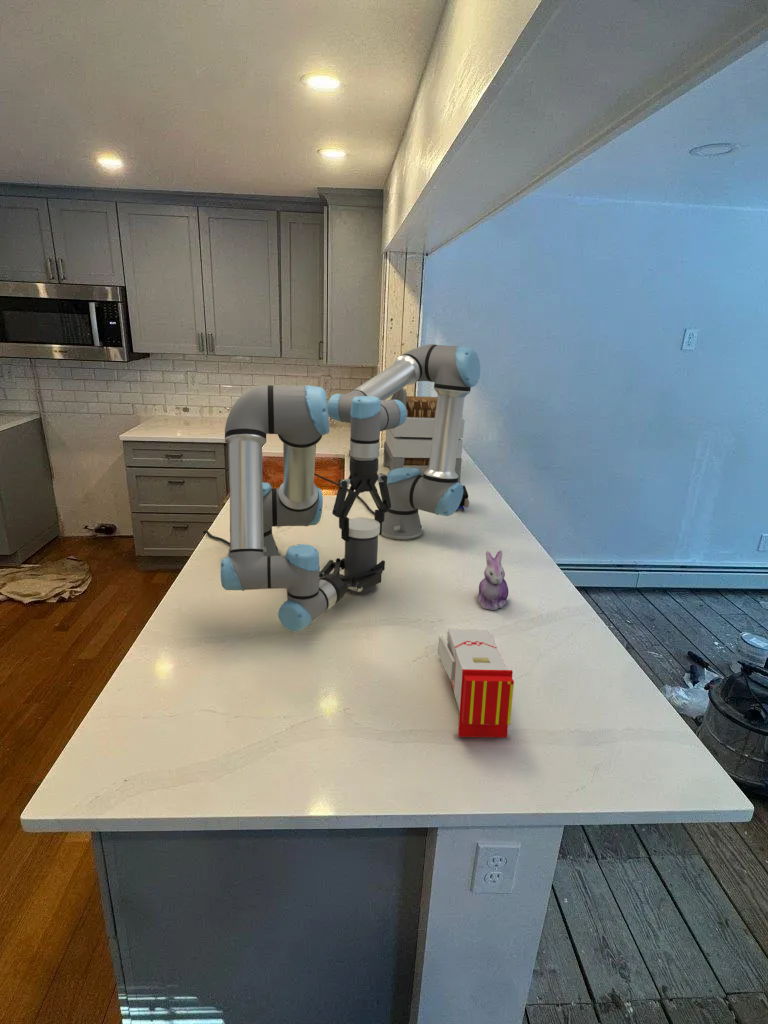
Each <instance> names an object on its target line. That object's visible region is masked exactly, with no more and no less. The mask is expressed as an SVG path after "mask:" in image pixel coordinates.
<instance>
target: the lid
mask: <svg viewBox="0 0 768 1024" xmlns="http://www.w3.org/2000/svg"><path fill="white" fill-rule="evenodd" d="M379 533H380V523H379V522H378V521H376V520H375V518H370V517H359V516H358V517H351V518H349V536H350V537H354V538H372V537H375V536H377V535H378V536H380V535H379Z"/></svg>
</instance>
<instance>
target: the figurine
mask: <svg viewBox="0 0 768 1024" xmlns="http://www.w3.org/2000/svg"><path fill="white" fill-rule="evenodd" d="M485 556H486V567H485V569H484V572H483V575H484V578H483V579H481V580H480V581H479V583H478V584H479V585H478V594H477V602H478V603H479V604H480V607H481V608H483V609H486V610H490V611H491V610H492V611H495V610H498V609H501V608H503V607H505V605H506V604H507V600H508V597H509V586H508V583H507V581H506V580H505V577H506V572H505V570H504V567H503V565H502V558H503V551H502V550H501V549H500V550H498V551H497V552H496V554H495V557H494V556H493V555H492V553H491V552H490V551H489V550H488V551H486V552H485Z"/></svg>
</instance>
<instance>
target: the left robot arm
mask: <svg viewBox="0 0 768 1024" xmlns="http://www.w3.org/2000/svg"><path fill="white" fill-rule="evenodd" d="M327 405H328V399H327V393H326V390H325V389H324V388H322V387H321V386H315V385H309V384H307V385H272V384H271V385H270V384H269V385H268V384H260V385H255V386H252V387H251V388H249V389H247V390H246V391H245V392H243V393H242V394H241V395H240V396H239V397H238V398H237V399H236V401H235V402H234V404H233V405H232V407H231V408H230V411H229V412H228V415H227V418H226V421H225V427H224V443H226V444H227V445H228V449H229V541H228V540H226V539H224V538H222V537H219V536H215V535H213V534H211V533H210V531H209V530H207V529H205V530H203V531H202V534H206V535H207V536H208V537H209V538H210V539H213V540H216V541H221V542H223V543H224V544H226V545H228V546H229V549H228V551H227V552H228V553H227V557H223V558H222V559H221V560H220V583H221V587H222V589H224V590H225V591H242V592H245V591H249V590H250V591H252V590H267V589H268V590H269V589H270V590H271V589H272V590H273V589H274V590H276V589H286V601H285V600H284V602H283V603H282V604H281V605H280V606H279V609H278V612H277V616H278V620H279V622H280V624H281V625H282V627H283V628H285V629H286V630H288V631H290V632H294V633H297V632H300V631H303V630H304V629H306V628H307V627H309V626H311V625H312V623H314V622H315V621H316V620H317V619H319V618H320V617H321V616H322V615H323V614H324V613H326V612H327V611H328V610H329V609H332V607H334V606H335V605H336V604H337V603H339V602H340V601H341V600H342V599H343V598H344V597H345V596H346V594H347V593H348V592H350V591H351V590H354V591H357V594H361V593H362V592H363V591H364V590H366V589H369V588H371V587H373V586H375V585H376V586H377V585H379V584H381V583H382V575H383V572H384V571H385V570H386V560H381V561H380V562H379V563H377V565H376V566H375V567H373V568H372V571H370V572H366V573H362V574H359V575H353V574H352V575H349V576H344V574H341V573H340V572H341V571H344V568H345V557H344V558H339V557H336V558H335V561H334V560H333V559H330V560H328V562H326V564H325V565H324V566H323V567H322V569H321V570H320V567H321V566H320V553H319V550H318V549H317V548H316V547H315V546H313V545H311V544H305V543H300V544H299V543H298V544H297V545H291V546H289V547H288V548H287V549H286V553H285V555H279V554H280V553H279V548H278V546H277V543H276V540H275V537H274V534H273V527H278V526H279V527H310V526H317V525H318V524H319V523H320V521H321V518H322V516H323V515H322V514H323V504H324V502H323V501H324V498H323V497H324V496H323V491H322V489H321V488H320V487H318V486H317V485H316V483H315V475H314V473H315V469H316V454H317V444H319V442H320V441H321V440H322V438H323V436H325V435H328V434H329V433H330V422H329V421H330V420H329V414H328V409H327ZM267 435H277V437H278V439H279V440H280V441H281V442H282V447H283V448H282V449H283V454H282V455H283V458H282V459H283V460H282V461H283V462H282V463H283V464H282V465H283V482H282V483H281V484H280V485H279V487H276V488H275V487H272V485H271V483H269V482H266V481H265V482H264V480H263V479H264V477H263V447H264V446H265V444H266V443H267ZM351 579H352V581H351Z"/></svg>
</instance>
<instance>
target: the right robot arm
mask: <svg viewBox="0 0 768 1024" xmlns="http://www.w3.org/2000/svg"><path fill="white" fill-rule="evenodd" d="M480 376H481V362H480V357H479V355H478V353H477V351H475V350H474V349H473V348H471V347H467V346H462V345H460V346H459V345H457V346H456V345H444V344H443V345H442V344H436V343H435V344H434V343H433V344H432V343H430V344H424V345H421V346H418V347H415V348H412V349H410V350H408V351H406V352H404V353H403V354H401V355H400V356H398V357H397V358H396V359H395V360H394V362H393V364H391V365H390V366H388V367H386V369H384V370H382V371H381V372H379V373H378V374H376V375H375V376H373V377H371V378H370V379H368V380H367V381H365V382H364V383H362V384H361V385H358V386H357V387H356V388H354V389H353V390H352V391H350V392H348V393H347V394H344V393H334V394H332V395H331V396H330V397H329V399H328V400H327V410H328V417H329V418H330V419H331V420H333V421H337V422H340V423H348V424H350V436H349V437H350V438H349V439H350V440H349V451H350V453H349V454H350V455H351V456H352V457H351V458H350V457H349V468H348V469H349V476H348V478H345V479H343V478H339V479H338V482H335V481H334V480H331V479H329V478H326V477H324V476H321V475H319V474H318V473H315V472H314V477H318V478H320V479H321V480H325V481H326V482H329V483H330V484H334V485H336V486H337V487H338V490H337V493H336V497H335V500H334V504H333V507H332V508H333V509H332V512H331V514H332V515H333V516H334V517H336V518H338V528H339V529H340V530H341V532H340V533H341V534H340V535H341V537H340V538H341V540H343V541H344V542H345V541H346V542H347V541H349V519H350V518H349V517H348V516H349V513H350V511H351V509H352V507H353V505H354V503H355V501H356V499H357V498H358V499H359V500H360V502H362V504H363V505H364V506H365V507H366V508H367V510H368V511H369V512H370V513H372V514H373V515H374V520H376V521H378V522H379V523H380V533H379V535H378V536H382V537H385V538H387V539H389V540H395V541H410V540H415V539H418V538H420V537H421V536H422V535H423V525H422V524H421V518H420V515H419V511H423V512H426V513H431V514H433V515H434V514H435V516H443V517H450V516H452V515H453V514H454V513H456V512H457V511H458V509H459V508H458V507H459V505H460V502H461V500H462V496H463V486H464V485H463V484H462V483H461V482H459V483H458V475H457V474H456V472H455V464H456V457H457V450H458V442H459V435H460V428H461V420H462V419H463V414H464V413H463V412H464V404H465V397H467V395H469V394H470V393H471V389H472V388H473V387H475V386H477V385H478V382H479V379H480ZM418 382H430V383H433V389H434V391H435V392H436V393H437V396H436V397H437V405H436V413H435V421H434V429H433V437H432V445H431V454H430V462H429V465H428V468H426V470H424V471H423V474H422V470H421V468H418V467H404V468H398V469H394V470H391V471H390V470H388V472H387V474H385V473H382V472H381V473H379V474H378V472H379V456H380V433H381V432H383V431H386V430H388V429H394V428H396V427H398V426H400V425H402V424H403V423H404V422H405V420H406V417H407V410H406V407H405V405H404V404H403V403H402V402H401V401H399V400H391V398H390V397H392V396H393V394H395V393H396V392H397V391H399V390H400V389H402V388H403V389H404V388H405V387H406V386H407V385H408V386H411V385H414V384H416V383H418ZM377 483H378V488H379V492H378V488H377V486H376V484H377ZM349 485H350V486H349ZM462 485H463V486H462ZM364 492H367V493H369V494H370V496H371V498H372V500H373V501H374V504H375V506H376V508H377V509H375V510H373V509H371V508H370V506H369V505H368V503H367V502H366V501H365V500H364V499H363V498H362V497H361V496H360V494H362V493H364ZM379 493H380V494H379ZM456 510H457V511H456Z"/></svg>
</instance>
